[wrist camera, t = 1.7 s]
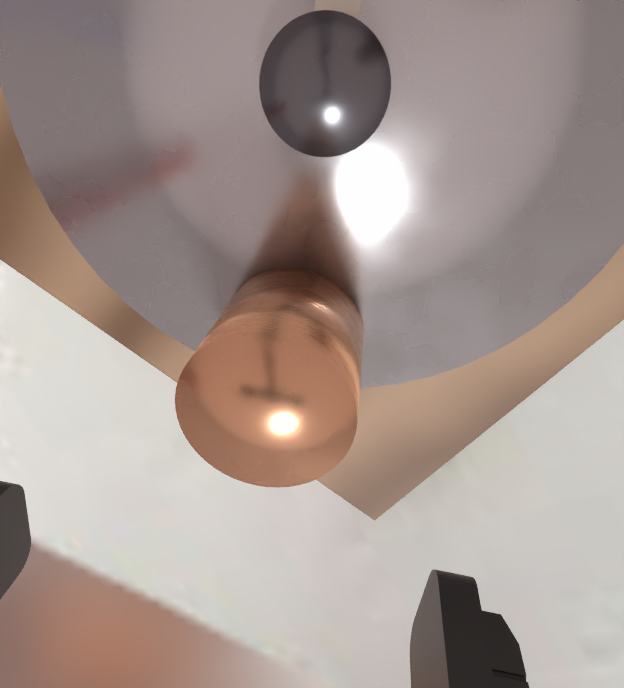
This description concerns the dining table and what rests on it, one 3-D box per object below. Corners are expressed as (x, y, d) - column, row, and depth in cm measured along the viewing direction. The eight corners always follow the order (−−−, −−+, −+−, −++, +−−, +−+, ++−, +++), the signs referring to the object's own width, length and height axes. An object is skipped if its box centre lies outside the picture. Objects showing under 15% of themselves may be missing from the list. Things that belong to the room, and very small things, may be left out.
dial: (-25, -453, 12) (-382, -911, 7) (862, -354, 11) (1340, -786, 6) (51, 330, 22) (-69, 422, 16) (542, 421, 21) (601, 552, 15)
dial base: (-110, 146, 22) (-160, 153, 20) (246, -916, 11) (215, -1137, 9) (375, 490, 27) (374, 524, 25) (957, 0, 16) (1040, -11, 14)
